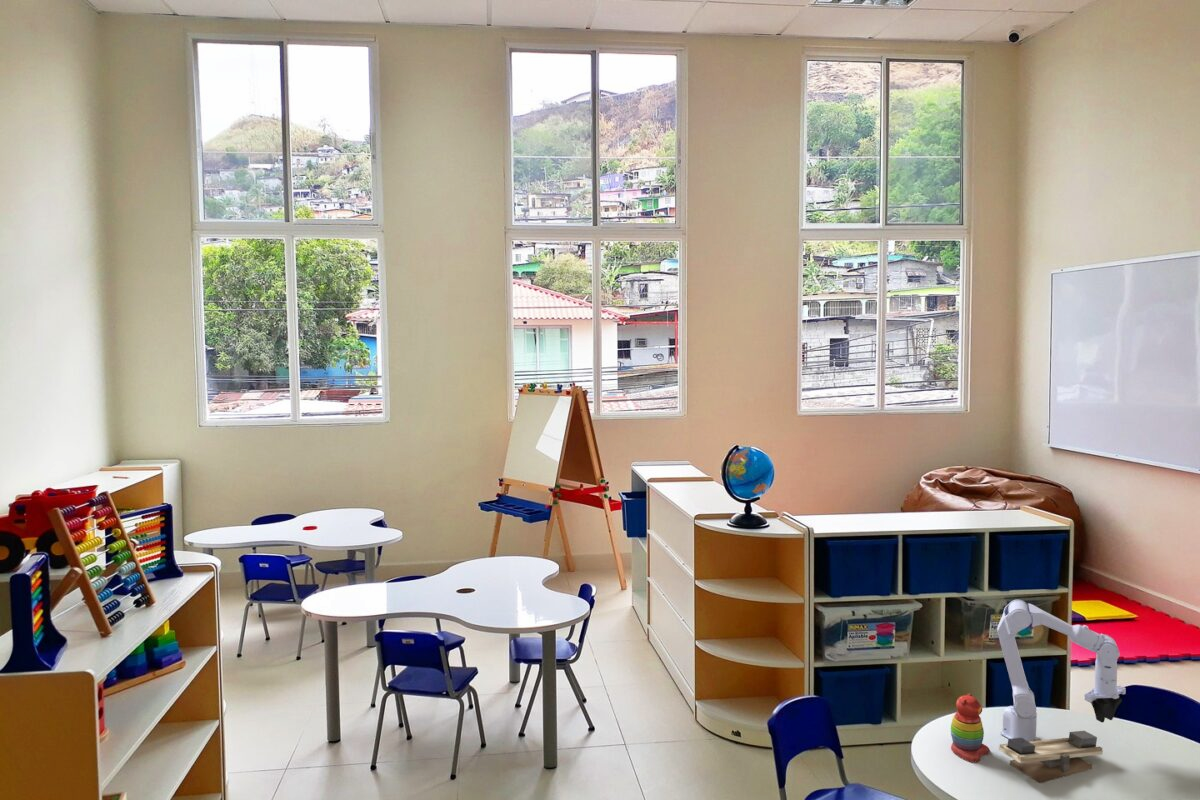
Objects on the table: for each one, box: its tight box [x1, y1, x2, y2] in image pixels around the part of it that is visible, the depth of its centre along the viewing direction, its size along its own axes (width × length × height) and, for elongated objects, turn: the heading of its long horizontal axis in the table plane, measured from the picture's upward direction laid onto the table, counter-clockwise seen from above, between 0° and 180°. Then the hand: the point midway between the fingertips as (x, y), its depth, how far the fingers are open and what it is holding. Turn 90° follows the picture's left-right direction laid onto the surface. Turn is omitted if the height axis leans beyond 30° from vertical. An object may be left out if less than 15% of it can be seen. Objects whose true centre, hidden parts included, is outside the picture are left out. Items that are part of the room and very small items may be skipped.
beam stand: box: [1009, 737, 1093, 784], centre depth 253 cm, size 11×20×6 cm, turn 110°
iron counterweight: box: [1007, 738, 1035, 755], centre depth 248 cm, size 5×5×3 cm
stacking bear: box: [950, 693, 991, 763], centre depth 262 cm, size 11×10×18 cm
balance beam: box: [998, 737, 1104, 763], centre depth 253 cm, size 8×32×2 cm, turn 110°
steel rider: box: [1068, 730, 1098, 749], centre depth 257 cm, size 4×6×4 cm
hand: (1104, 719), depth 259 cm, fingers open, 3 cm apart
